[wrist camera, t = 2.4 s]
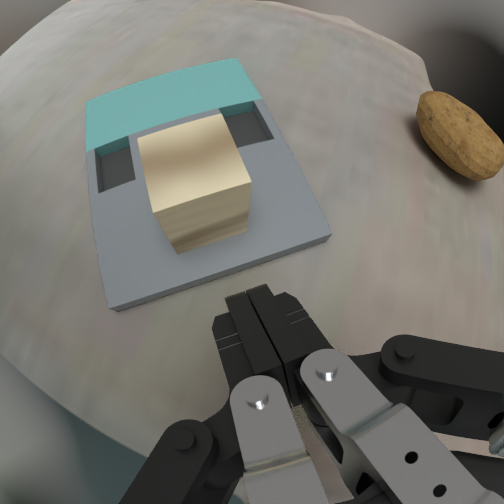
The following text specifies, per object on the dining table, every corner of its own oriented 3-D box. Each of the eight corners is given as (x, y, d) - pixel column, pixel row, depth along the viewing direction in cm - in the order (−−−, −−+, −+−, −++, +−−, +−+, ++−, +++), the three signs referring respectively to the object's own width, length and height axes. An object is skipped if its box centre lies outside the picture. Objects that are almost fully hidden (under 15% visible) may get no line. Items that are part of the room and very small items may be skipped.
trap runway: (326, 241, 27) (332, 233, 25) (117, 311, 24) (108, 308, 22) (236, 68, 34) (236, 57, 32) (90, 111, 31) (85, 102, 29)
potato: (413, 106, 35) (436, 69, 27) (483, 167, 32) (514, 138, 25) (392, 138, 32) (420, 95, 24) (472, 208, 30) (511, 180, 22)
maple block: (246, 231, 25) (251, 181, 17) (177, 254, 24) (152, 212, 16) (224, 174, 26) (221, 113, 19) (160, 194, 26) (137, 138, 18)
